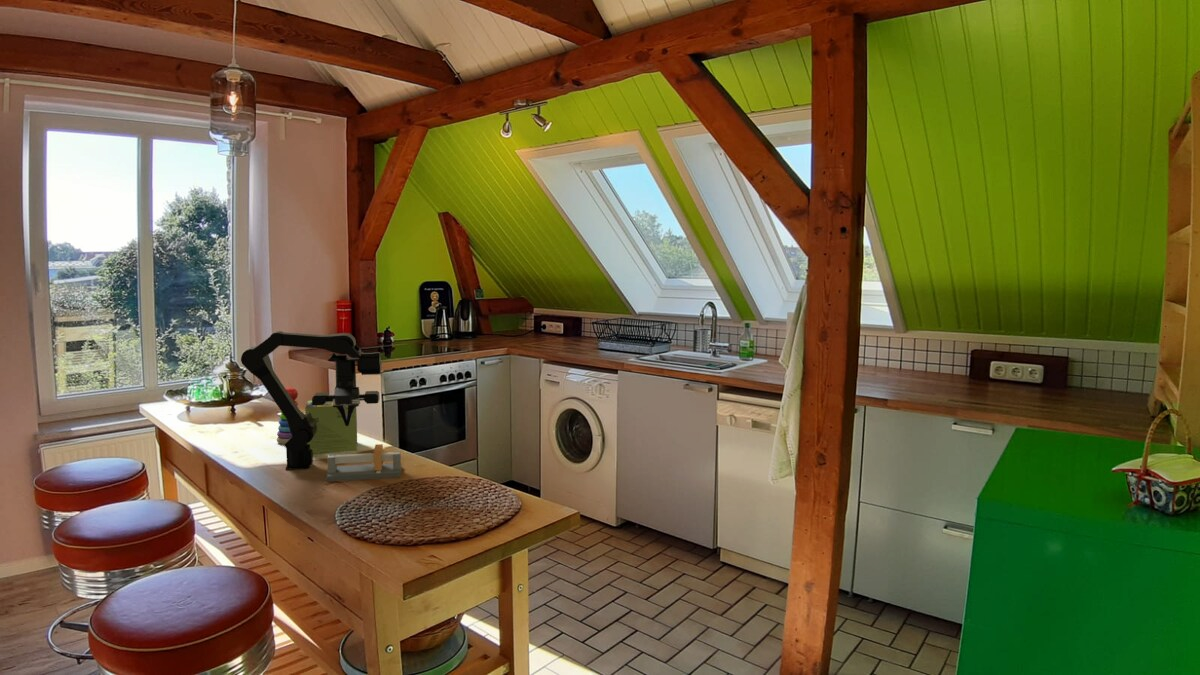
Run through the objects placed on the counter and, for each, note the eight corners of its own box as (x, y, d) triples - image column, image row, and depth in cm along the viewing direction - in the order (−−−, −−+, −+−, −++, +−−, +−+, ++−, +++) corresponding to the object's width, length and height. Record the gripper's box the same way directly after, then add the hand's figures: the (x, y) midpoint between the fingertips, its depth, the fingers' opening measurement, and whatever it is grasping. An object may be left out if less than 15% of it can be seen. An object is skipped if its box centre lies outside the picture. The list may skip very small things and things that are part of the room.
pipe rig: (326, 481, 192) (325, 460, 191) (331, 471, 200) (330, 451, 199) (399, 477, 196) (399, 457, 195) (401, 467, 205) (401, 448, 204)
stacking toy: (292, 445, 225) (290, 390, 222) (271, 444, 226) (269, 389, 224) (307, 439, 232) (305, 385, 230) (287, 437, 234) (285, 384, 231)
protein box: (357, 450, 221) (356, 404, 219) (306, 454, 216) (304, 407, 214) (357, 442, 231) (356, 397, 229) (308, 445, 225) (306, 400, 223)
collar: (374, 470, 196) (373, 450, 195) (376, 464, 202) (375, 444, 201) (381, 470, 196) (381, 450, 195) (383, 463, 202) (382, 444, 201)
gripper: (307, 381, 194) (309, 434, 196) (376, 379, 198) (377, 431, 200) (314, 374, 205) (316, 424, 207) (379, 372, 209) (380, 421, 211)
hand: (347, 425), depth 206 cm, fingers closed
